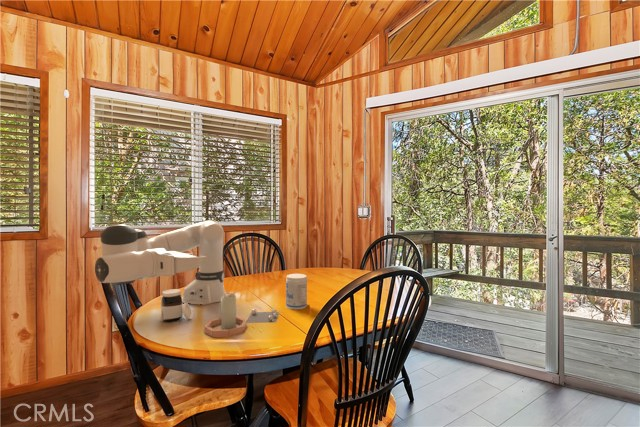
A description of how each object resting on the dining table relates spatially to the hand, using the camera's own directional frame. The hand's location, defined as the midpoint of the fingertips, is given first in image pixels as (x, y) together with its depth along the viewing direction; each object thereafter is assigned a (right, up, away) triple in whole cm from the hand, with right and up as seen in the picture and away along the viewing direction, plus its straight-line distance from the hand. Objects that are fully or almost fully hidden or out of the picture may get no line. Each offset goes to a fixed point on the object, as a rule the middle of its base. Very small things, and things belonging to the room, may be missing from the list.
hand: (199, 256), depth 112 cm
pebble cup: (+8, -28, +9) cm, 30 cm away
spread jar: (-17, -29, +20) cm, 39 cm away
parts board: (+19, -28, +20) cm, 39 cm away
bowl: (+7, -29, +8) cm, 30 cm away
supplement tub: (+31, -28, +34) cm, 54 cm away
